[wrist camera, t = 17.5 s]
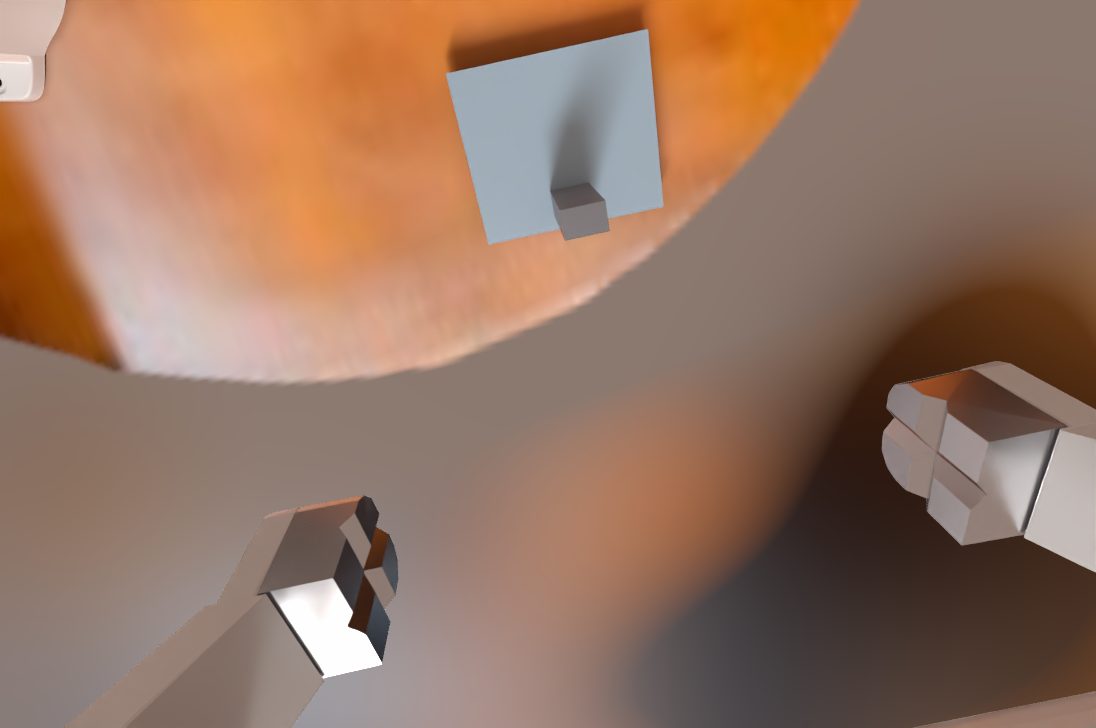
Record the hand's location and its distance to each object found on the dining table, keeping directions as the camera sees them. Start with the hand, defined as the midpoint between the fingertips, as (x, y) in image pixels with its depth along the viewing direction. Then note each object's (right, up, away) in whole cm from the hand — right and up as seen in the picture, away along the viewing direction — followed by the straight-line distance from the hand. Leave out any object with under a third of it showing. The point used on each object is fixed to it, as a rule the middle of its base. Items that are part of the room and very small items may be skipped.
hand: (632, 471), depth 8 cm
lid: (0, +18, +31) cm, 36 cm away
